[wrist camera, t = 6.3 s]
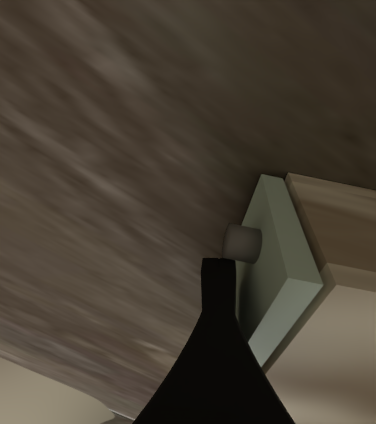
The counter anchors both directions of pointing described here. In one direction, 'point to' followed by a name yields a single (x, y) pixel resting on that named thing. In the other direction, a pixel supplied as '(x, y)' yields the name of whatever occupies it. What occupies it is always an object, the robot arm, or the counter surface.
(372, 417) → the cabinet
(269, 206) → the door
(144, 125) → the counter surface
